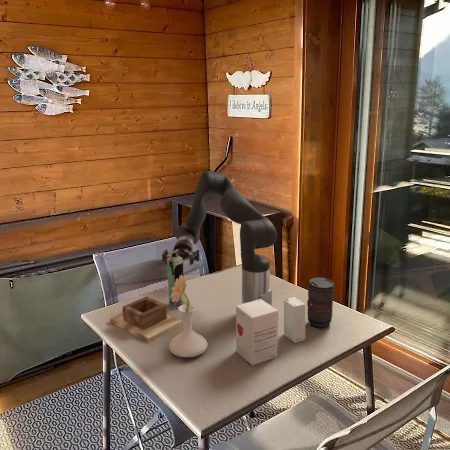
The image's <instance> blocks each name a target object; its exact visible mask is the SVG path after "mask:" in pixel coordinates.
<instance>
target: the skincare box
mask: <svg viewBox="0 0 450 450" xmlns="http://www.w3.org/2000/svg"><path fill="white" fill-rule="evenodd" d="M283 335H284V336H285V337H287V338H288V339H289V340H290V341H292V343H294V344H295V343H299V341H300V342H302V341H305V340H306V304H305V303H304V302H303V301H301V300H300V299H298V298H296V297H295V296H293V297H288V298H286V299H285V298H284V299H283Z"/></svg>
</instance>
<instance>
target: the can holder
mask: <svg viewBox="0 0 450 450" xmlns="http://www.w3.org/2000/svg"><path fill="white" fill-rule="evenodd" d="M109 323H111V324H112V325H115V326H117V327H119V328H121V329H123V330H124V331H126V332H127V333H130V334H131V335H134V336H135V337H137V338H139V339H141V340H143V341H144V342H147V343H150V342H152V341H154V340H157V339H158V338H160V337H162V336H164V335H166V334H168V333H170V332H172V331H174V330H176V329H178V328H180V327H182V326H183V320H180V319H178V318H176V317H174V316H171V315H169V314H168V313H167V304H165V303H162V302H160V301H158V300H156V299H153V298H151V297H149V296H144V297H141V298H139V299H137V300H135V301H133V302H130V303H128V304H125V305H122V312H120V313H118V314H115V315H113V316H111V317H109Z"/></svg>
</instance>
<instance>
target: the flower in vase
mask: <svg viewBox="0 0 450 450" xmlns="http://www.w3.org/2000/svg"><path fill="white" fill-rule="evenodd" d="M187 283H188V281H187V277H186V276H185V275H184V277H183V276H182V275H181V276H179V280H178V279H176V282H175V285H174V287H172V291H173V292H172V293H171V297H170V298H173V299H172V302H175V301H176V302H177V301H179V300H180V298H181V300H182V302H183V303H184V304H185V305H181V306H180V307H179V308H178V309H177V310H178V312H179V313H180V314H181V317H182V324H183V328H182V331H181V332H180V333H178V334H177V335H175V336H174V337H173V338H172V339H171V340H170V341H169V344H168V350H169V351H170V352H171V353H172V355H174V356H176V357H180V358H193V357H194V358H195V357H197V356H199V355H201V354H203V353H205V351H206V350H207V348H208V342H207V339H206V338H205V337H203V336H202V335H201V334H200V333H198V332H195V331H194V330H193V328H192V318H193V313H194V312H195V311H196V306H195V305H193V304H191V300H190V298H189V297H188V295H187V294H186V289H187V286H188V284H187Z"/></svg>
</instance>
